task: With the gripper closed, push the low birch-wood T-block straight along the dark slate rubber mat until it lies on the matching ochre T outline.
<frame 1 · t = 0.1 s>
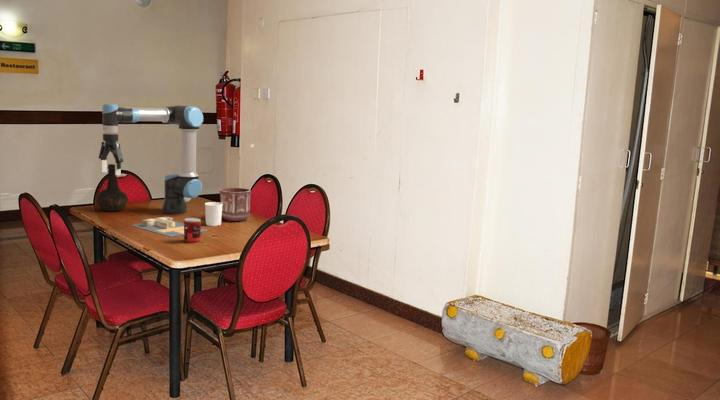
hand: (111, 173, 325), 28 cm above the table, fingers open, 13 cm apart
t block: (157, 224, 336), resting on push mat
push mat: (169, 228, 329), on the table
pottery: (234, 220, 360), on the table
dark mottled flask: (112, 210, 370), on the table
canned food: (192, 241, 303), on the table
teacup: (183, 202, 411), on the table
candle holder: (213, 224, 344), on the table
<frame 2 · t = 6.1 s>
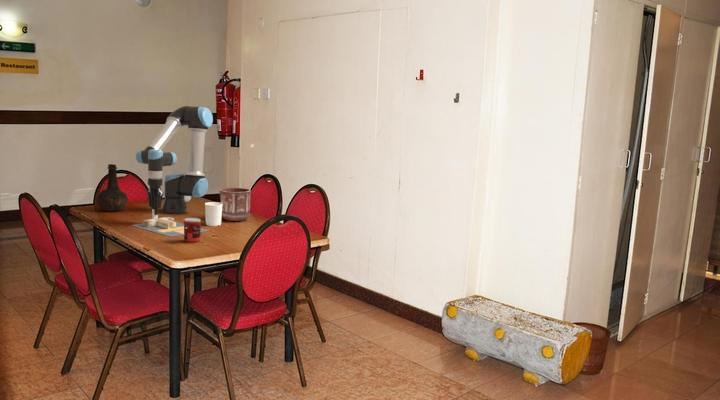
hand: (154, 220, 337), 2 cm above the table, fingers closed
t block: (158, 224, 336), resting on push mat
everything else where it was.
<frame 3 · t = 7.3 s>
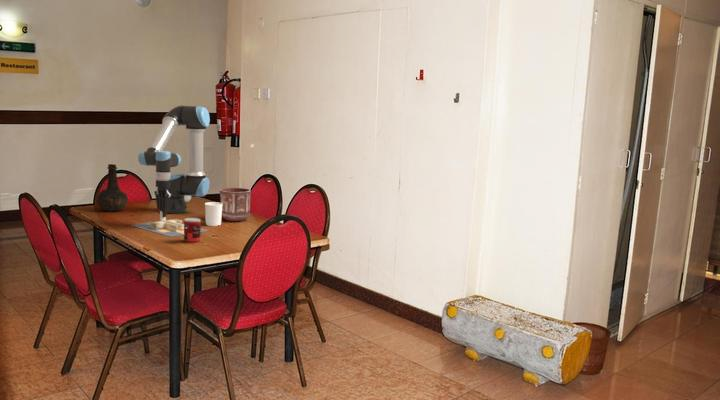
hand: (162, 222, 333), 2 cm above the table, fingers closed
t block: (166, 226, 331), resting on push mat, touching gripper
everything else where it was.
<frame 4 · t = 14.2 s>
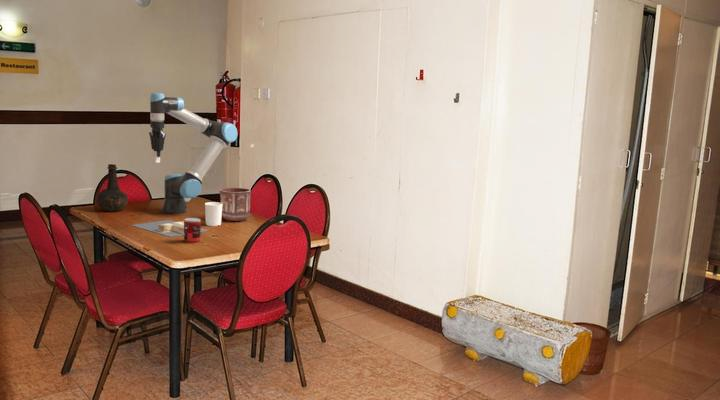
hand: (157, 162, 348), 32 cm above the table, fingers closed
t block: (174, 229, 327), resting on push mat
everything else where it was.
at the end: t block 0.9 cm from the target spot, resting on push mat; t block tilted 0°; t block moved 15.6 cm from its start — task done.
